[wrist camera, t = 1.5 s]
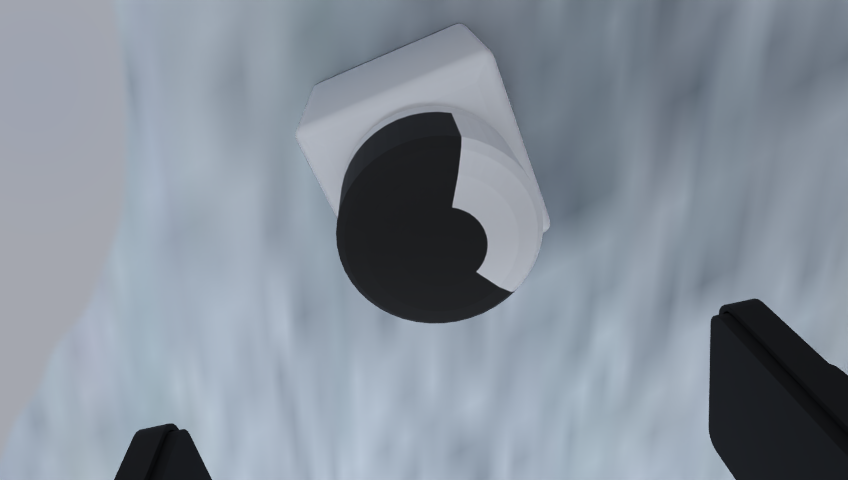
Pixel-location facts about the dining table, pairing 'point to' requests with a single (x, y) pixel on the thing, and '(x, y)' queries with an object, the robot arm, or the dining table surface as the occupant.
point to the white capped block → (426, 178)
